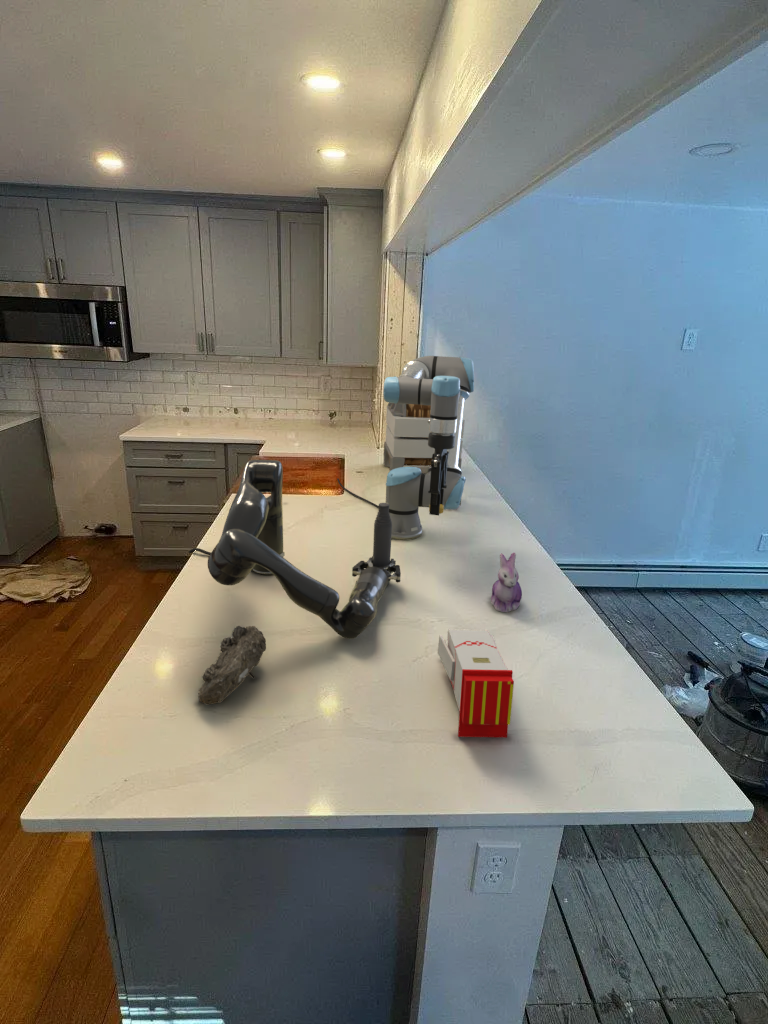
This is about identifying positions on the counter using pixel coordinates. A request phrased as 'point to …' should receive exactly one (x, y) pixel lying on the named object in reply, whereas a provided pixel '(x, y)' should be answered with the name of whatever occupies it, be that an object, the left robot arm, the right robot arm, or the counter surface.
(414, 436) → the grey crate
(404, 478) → the right robot arm
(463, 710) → the toy
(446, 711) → the counter surface
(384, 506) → the bottle
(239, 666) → the fossil
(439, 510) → the cap
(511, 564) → the figurine
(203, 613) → the counter surface
